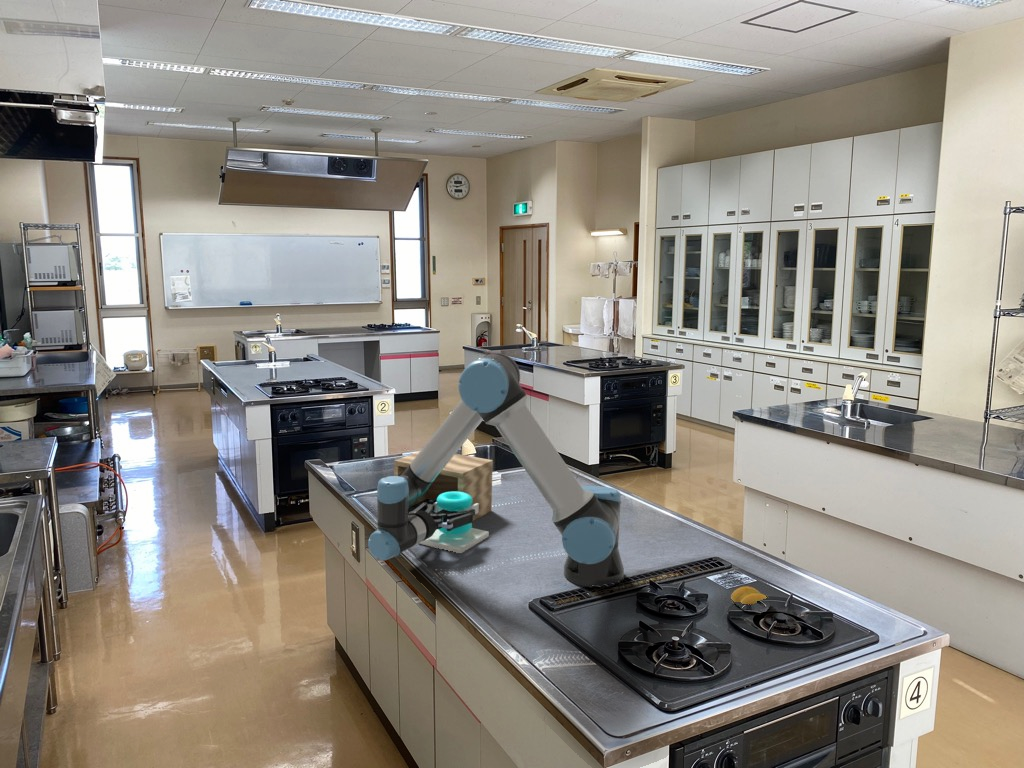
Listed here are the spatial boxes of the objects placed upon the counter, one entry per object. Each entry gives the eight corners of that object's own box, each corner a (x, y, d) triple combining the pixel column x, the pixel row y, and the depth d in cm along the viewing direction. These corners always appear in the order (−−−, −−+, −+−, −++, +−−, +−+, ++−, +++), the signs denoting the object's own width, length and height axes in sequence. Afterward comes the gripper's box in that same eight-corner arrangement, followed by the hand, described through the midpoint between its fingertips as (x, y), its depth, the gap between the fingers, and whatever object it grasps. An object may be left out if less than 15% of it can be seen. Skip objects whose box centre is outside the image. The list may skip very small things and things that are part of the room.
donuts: (478, 493, 210) (462, 503, 201) (477, 526, 211) (461, 538, 202) (447, 488, 213) (430, 497, 204) (446, 521, 215) (429, 532, 206)
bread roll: (749, 617, 169) (751, 601, 168) (725, 600, 177) (726, 585, 176) (778, 612, 171) (780, 596, 171) (753, 595, 180) (754, 580, 179)
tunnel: (461, 527, 219) (462, 473, 216) (394, 511, 231) (394, 460, 228) (491, 510, 234) (492, 460, 231) (426, 496, 246) (427, 448, 243)
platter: (460, 554, 199) (460, 548, 199) (417, 543, 206) (417, 538, 206) (488, 536, 212) (488, 531, 212) (447, 527, 219) (447, 522, 219)
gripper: (382, 533, 198) (431, 510, 217) (450, 551, 188) (495, 524, 207) (382, 506, 197) (431, 485, 216) (451, 522, 186) (496, 499, 206)
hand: (462, 504), depth 212 cm, fingers closed on donuts, 9 cm apart
